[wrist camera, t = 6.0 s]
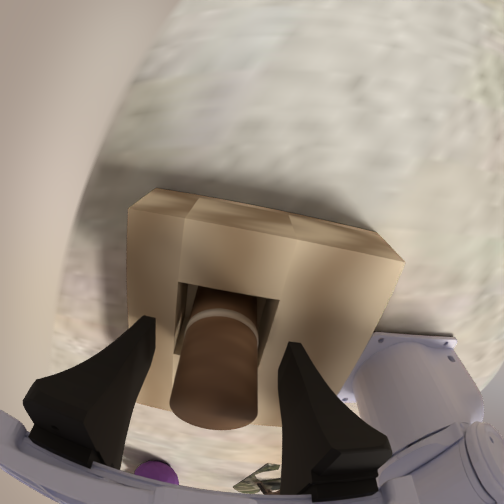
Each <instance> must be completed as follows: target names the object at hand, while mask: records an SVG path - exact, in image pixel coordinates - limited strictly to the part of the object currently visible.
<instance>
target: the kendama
mask: <svg viewBox="0 0 504 504" xmlns="http://www.w3.org/2000/svg"><path fill="white" fill-rule="evenodd" d="M134 475H138V476H142V477H145V478H149V479H153V480H158V481H162V482H166V483H171V484H176V485H179V481H178V477H177V474H176V473H175V471H174V470H173V469H172V468H171V467H169V466H168V465H167V464H165V463H162V462H159V461H148V462H145V463H143V464H141V465H140V466H139V467H138V468H137V469H136V470H135V473H134Z"/></svg>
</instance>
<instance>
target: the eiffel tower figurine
mask: <svg viewBox="0 0 504 504" xmlns="http://www.w3.org/2000/svg"><path fill="white" fill-rule="evenodd" d="M279 467H280V465H275V464H266V465H265V466H264V467H262V468H261V469H259V470H258V471H256V472H255V473H253V474H251V475H250V476H249V477H247V478H246V479H244V480H243V481H241V482H240V483H238V484H237V485H235V486H233V488H234V489H235V490H237V491H238V492H241V493H249V494H255V493H257V492H259V491H260V490H261V491H262V493H263V494H264V495H279V494H280V490H279V489H280V483H281V478H279V479H272V480H264V481H259V480H258V479H257V478H256V477H255V474H258V473H261V472H265V471H272V470H278V469H279ZM272 490H279V491H277V492H271V491H272Z"/></svg>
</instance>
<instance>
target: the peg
mask: <svg viewBox="0 0 504 504" xmlns="http://www.w3.org/2000/svg"><path fill="white" fill-rule="evenodd" d="M257 349H258V331H257V296H253V295H247V294H241V293H236V292H230V291H224V290H219V289H214V288H208V287H203V286H198V288H197V292H196V295H195V299H194V303H193V307H192V311H191V314H190V318H189V322H188V324H187V326H186V330H185V334H184V342H183V346H182V350H181V354H180V358H179V362H178V366H177V371H176V375H175V379H174V383H173V388H172V392H171V397H170V401H169V405H170V408H171V410H172V411H173V413H174V414H175V415H176V416H177V417H179V418H180V419H182V420H183V421H185V422H187V423H189V424H192V425H194V426H197V427H201V428H205V429H212V430H231V429H237V428H241V427H244V426H246V425H248V424H250V423H252V422H253V421H254V420H255V419H256V417H257V415H258V362H257Z"/></svg>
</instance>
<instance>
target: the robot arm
mask: <svg viewBox="0 0 504 504" xmlns="http://www.w3.org/2000/svg"><path fill="white" fill-rule="evenodd" d="M380 338H382V339H380ZM379 339H380V340H379ZM456 344H457V339H456V338H455V337H441V336H423V335H409V334H396V333H385V332H373V334H372V336H371V337H370V339H369V341H368V343H367V345H366V347H365V349H364V350H363V352H362V354H361V356H360V358H359V359H358V361H357V363H356V365H355V366H354V368H353V370H352V371H351V373H350V375H349V376H348V378H347V380H346V381H345V383H344V385H343V386H342V388H341V390H340V391H339V393H338V394H337V395H336V394H335V393H334V392H333V391H332V390H331V388H330V387H329V386H328V384H327V383H326V382H325V380H324V379H323V378H322V376H321V375H320V373H319V372H318V370H317V369H316V367H315V365H314V364H313V362H312V361H311V359H310V357H309V356H308V354H307V352H306V350H305V349H304V347H303V345H302V344H301V343H298V342H290V341H289V342H288V344H287V347H286V350H285V352H284V355H283V358H282V360H281V363H280V365H279V368H278V396H279V405H280V413H281V421H282V469H281V483H280V494H279V495H259V494H242V493H231V492H221V491H213V490H205V489H199V488H192V487H187V486H181V485H176V484H171V483H166V482H162V481H158V480H153V479H149V478H145V477H142V476H138V475H134V474H131V473H127V472H124V471H121V470H120V467H121V461H122V455H123V450H124V445H125V440H126V436H127V431H128V427H129V423H130V419H131V416H132V412H133V408H134V405H135V403H136V400H137V397H138V395H139V393H140V390H141V388H142V385H143V383H144V381H145V378H146V376H147V374H148V371H149V369H150V366H151V363H152V360H153V356H154V353H155V349H156V318H154V317H150V316H146V315H143V316H142V317H140V318H139V319H138V320H137V321H136V322H135V323H134V324H133V325H132V326H131V327H130V328H129V329H128V330H127V331H126V332H124V333H123V334H122V335H121V336H120V337H119V338H117V339H116V340H115V341H114V342H112V343H111V344H110V345H109V346H107V347H106V348H105V349H103V350H102V351H100V352H99V353H97V354H96V355H94V356H93V357H91V358H89V359H88V360H86V361H84V362H82V363H80V364H78V365H77V366H75V367H72V368H70V369H68V370H65V371H63V372H60V373H57V374H54V375H51V376H48V377H44V378H41V379H37V380H36V381H35V382H34V383H33V385H32V386H31V388H30V389H29V391H28V393H27V394H26V396H25V398H24V399H23V406H24V408H25V410H26V411H27V413H28V415H29V416H30V418H31V420H32V421H33V423H34V426H33V428H32V430H31V432H28V431H27V430H26V428H25V427H24V425H23V424H22V423H21V422H20V421H18V420H17V419H16V418H14V417H12V416H11V415H9V414H7V413H5V412H4V411H2V410H0V468H1V469H2V470H3V471H5V472H6V473H8V474H9V475H11V476H12V477H14V478H16V479H17V480H19V481H20V482H22V483H24V484H25V485H27V486H29V487H30V488H32V489H34V490H36V491H37V492H39V493H41V494H43V495H44V496H46V497H48V498H50V499H52V500H54V501H56V502H58V503H59V504H504V439H503V437H502V436H501V435H500V433H499V432H498V431H497V430H496V429H495V428H494V427H493V426H492V425H491V424H489V423H483V422H482V421H483V416H484V403H483V398H482V395H481V392H480V391H479V389H478V387H477V386H476V384H475V382H474V381H473V379H472V377H471V376H470V374H469V373H468V371H467V370H466V368H465V366H464V365H463V363H462V362H461V360H460V359H459V357H458V356H457V354H456V353H455V351H454V350H453V349H454V347H455V346H456ZM344 403H357V406H358V410H359V413H360V417H361V418H359V417H358V416H357V415H356V414H355V413H354V412H352V411H351V410H350V409H349V408H348V407H347V406H346V405H345V404H344Z"/></svg>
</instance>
